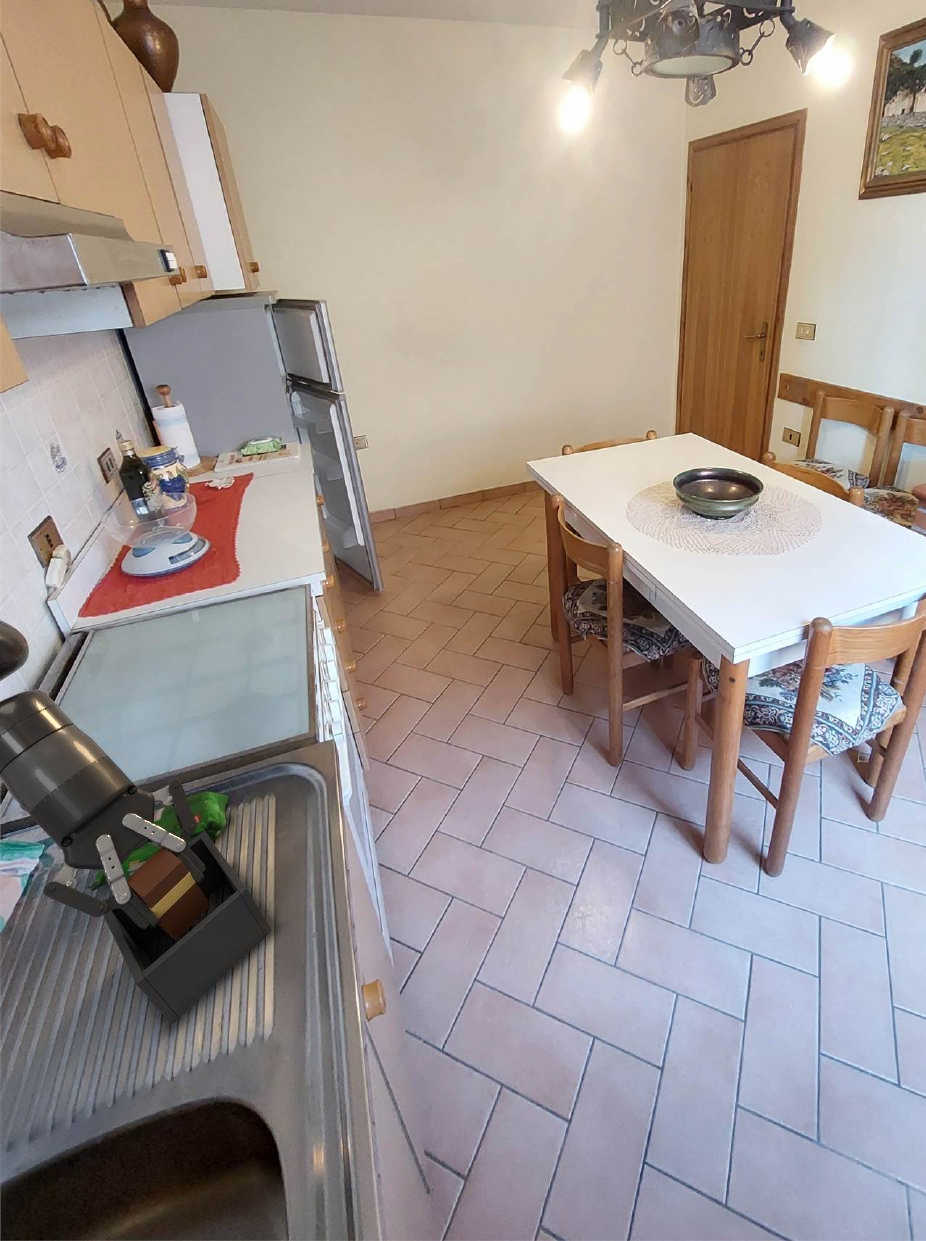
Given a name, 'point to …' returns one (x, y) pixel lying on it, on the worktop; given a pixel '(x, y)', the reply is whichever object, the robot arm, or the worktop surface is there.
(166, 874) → the brown yellow banded block
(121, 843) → the robot arm
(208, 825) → the snack package
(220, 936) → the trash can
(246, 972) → the worktop surface
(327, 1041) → the worktop surface
